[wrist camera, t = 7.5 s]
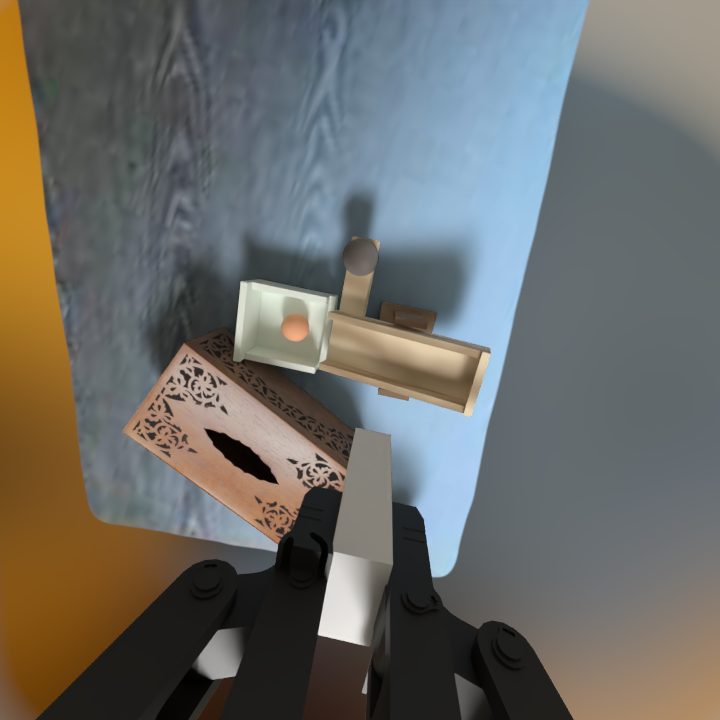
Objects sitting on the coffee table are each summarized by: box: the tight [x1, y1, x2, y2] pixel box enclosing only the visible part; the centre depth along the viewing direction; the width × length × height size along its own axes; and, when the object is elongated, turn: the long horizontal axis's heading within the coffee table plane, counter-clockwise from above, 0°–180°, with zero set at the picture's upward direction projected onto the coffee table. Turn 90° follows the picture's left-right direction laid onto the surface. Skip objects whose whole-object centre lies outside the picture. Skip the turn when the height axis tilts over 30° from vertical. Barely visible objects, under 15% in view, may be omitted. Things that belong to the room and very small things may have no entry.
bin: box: [233, 279, 339, 374], centre depth 44 cm, size 10×11×6 cm
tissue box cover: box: [122, 327, 355, 545], centre depth 47 cm, size 26×14×10 cm, turn 50°
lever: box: [319, 236, 491, 417], centre depth 39 cm, size 16×18×3 cm
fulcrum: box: [378, 302, 437, 401], centre depth 43 cm, size 10×7×7 cm
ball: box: [281, 314, 309, 341], centre depth 45 cm, size 4×4×4 cm
